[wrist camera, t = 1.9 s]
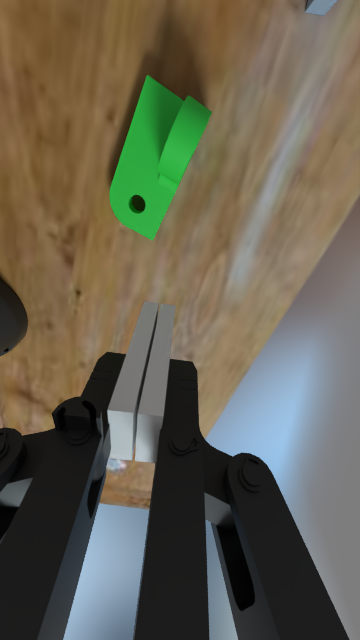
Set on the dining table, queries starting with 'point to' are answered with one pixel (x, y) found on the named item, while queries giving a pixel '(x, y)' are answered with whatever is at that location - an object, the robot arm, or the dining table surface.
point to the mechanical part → (155, 155)
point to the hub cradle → (319, 6)
